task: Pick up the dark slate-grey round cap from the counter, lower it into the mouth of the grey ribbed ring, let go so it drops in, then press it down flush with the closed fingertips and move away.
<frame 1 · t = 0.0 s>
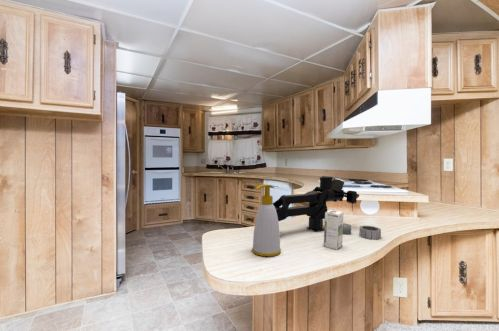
hand: (351, 193, 133), 17 cm above the countertop, tool horizontal, fingers open, 9 cm apart
grey ribbed ring: (369, 236, 113), on the countertop
syrup box: (333, 246, 100), on the countertop
cap: (345, 233, 118), on the countertop
soap bottle: (266, 252, 94), on the countertop
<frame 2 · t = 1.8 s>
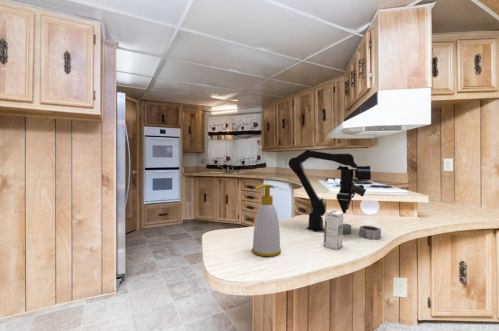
hand: (345, 211, 117), 11 cm above the countertop, tool pointing down, fingers open, 9 cm apart
nothing on the countertop moved.
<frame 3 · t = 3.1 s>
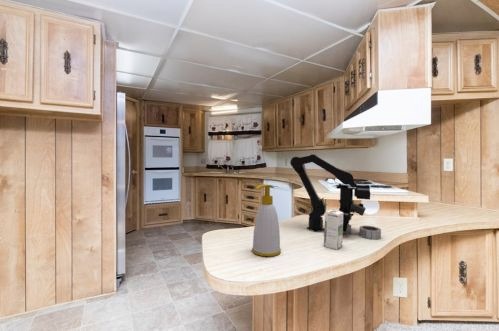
hand: (345, 229, 118), 2 cm above the countertop, tool pointing down, fingers closed on cap, 5 cm apart
cap: (345, 232, 118), on the countertop, touching gripper
everything else where it was.
when the fingers open (4 cm above the countertop, at t = 6.7 s): cap drops 3 cm, resting in grey ribbed ring.
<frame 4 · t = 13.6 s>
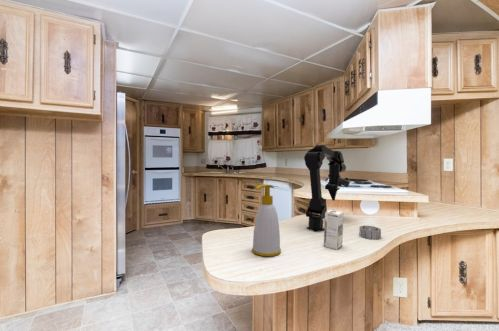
hand: (333, 200, 138), 12 cm above the countertop, tool pointing down, fingers closed
cap: (369, 236, 113), resting in grey ribbed ring
everything else where it was.
at the end: cap 0.1 cm off-centre on the grey ribbed ring, point 0.0 cm above the grey ribbed ring's base; cap tilted 0°; the gripper is holding nothing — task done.
